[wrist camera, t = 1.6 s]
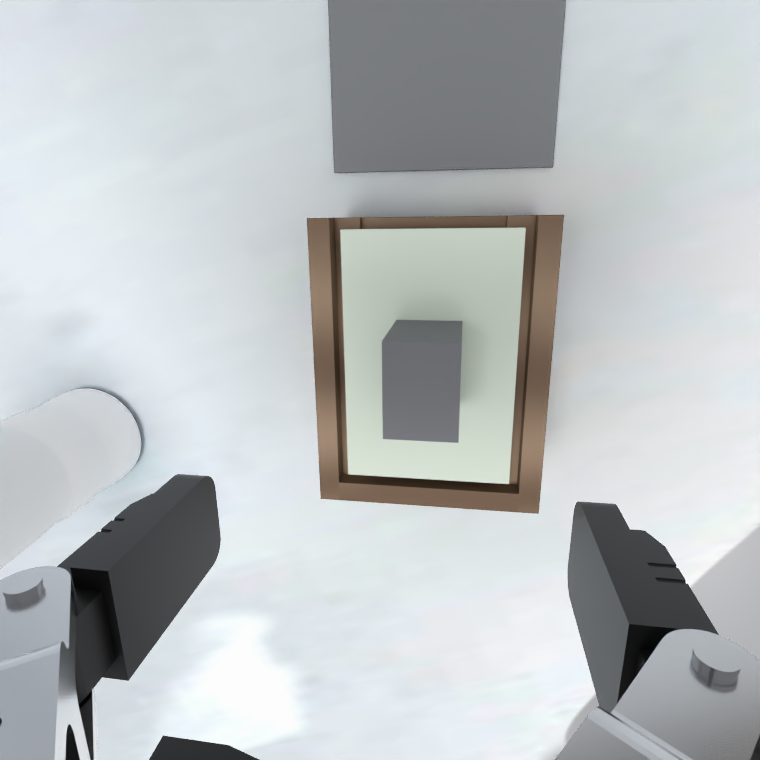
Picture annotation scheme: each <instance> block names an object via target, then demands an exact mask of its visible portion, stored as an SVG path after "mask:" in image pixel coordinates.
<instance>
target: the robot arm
mask: <svg viewBox="0 0 760 760" xmlns="http://www.w3.org/2000/svg"><path fill="white" fill-rule="evenodd" d="M219 548H220V528H219V519H218V509H217V500H216V491H215V485H214V481H213V479H212V478H211V477H209V476H198V475H183V474H177V475H175V476H174V477H173V478H171V479H170V480H169V481H168V482H167V483H166V484H165V485H163V486H162V487H161V488H160V489H159V490H158V491H157V492H155V493H154V494H151V495H149V496H147V497H145V498H143V499H141V500H139V501H137V502H135V503H133V504H131V505H129V506H128V507H127V508H126V509H125V510H123V511H122V512H121V513H120V514H119V515H117V516H116V517H115V519H114V521H110V522H109V523H108V524H107V525H106V526H104V527H103V528H102V530H101V532H97V533H96V534H95V535H94V536H93V537H91V538H90V539H89V540H88V541H87V542H86V543H84V544H83V545H82V546H81V547H80V548H78V549H77V550H76V551H75V552H74V553H73V554H71V555H70V556H69V557H68V558H67V559H65V560H64V561H63V562H62V563H61V564H60V565H58V566H57V567H55V566H43V567H36V568H31V569H27V570H24V571H20V572H18V573H15V574H12V575H10V576H8V577H6V578H4V579H2V580H0V760H98V735H97V703H96V696H95V691H94V687H95V685H96V684H97V683H98V682H99V680H100V679H101V678H102V677H105V678H113V679H120V680H129V679H130V678H131V676H132V675H133V674H134V672H135V671H136V669H137V668H138V667H139V665H140V664H141V663H142V661H143V660H144V659H145V657H146V656H147V654H148V653H149V652H150V650H151V649H152V648H153V646H154V645H155V644H156V642H157V641H158V639H159V638H160V637H161V635H162V634H163V633H164V631H165V630H166V629H167V627H168V626H169V625H170V623H171V622H172V620H173V619H174V618H175V616H176V615H177V614H178V612H179V611H180V610H181V608H182V607H183V605H184V604H185V603H186V601H187V600H188V599H189V597H190V596H191V595H192V593H193V592H194V590H195V589H196V588H197V586H198V585H199V584H200V582H201V581H202V580H203V578H204V577H205V575H206V574H207V573H208V571H209V570H210V569H211V567H212V566H213V564H214V563H215V561H216V559H217V556H218V553H219ZM568 589H569V596H570V600H571V604H572V608H573V611H574V615H575V619H576V622H577V626H578V629H579V633H580V637H581V640H582V644H583V648H584V651H585V655H586V659H587V662H588V666H589V669H590V673H591V677H592V680H593V684H594V688H595V691H596V695H597V698H598V702H599V707H596V708H595V709H593V710H592V711H591V712H590V714H589V715H588V716H587V717H586V719H585V720H584V721H583V723H582V724H581V725H580V727H579V728H578V729H577V731H576V732H575V733H574V735H573V736H572V738H571V739H570V740H569V742H568V743H567V744H566V746H565V747H564V748H563V750H562V751H561V752H560V754H559V755H558V757H557V758H556V759H555V760H760V660H759V659H758V658H757V657H756V656H755V655H753V654H752V653H751V652H749V651H748V650H747V649H745V648H744V647H742V646H741V645H739V644H737V643H735V642H733V641H731V640H730V639H727V638H725V637H722V636H720V635H719V634H718V633H717V631H716V630H715V628H714V626H713V625H712V623H711V621H710V620H709V618H708V616H707V615H706V613H705V611H704V610H703V608H702V607H701V605H700V603H699V602H698V600H697V598H696V597H695V595H694V594H693V592H692V590H691V588H690V587H689V585H688V584H686V583H685V579H684V577H683V575H682V574H681V572H680V570H679V569H678V568H676V564H675V562H674V561H673V559H672V557H671V556H670V554H669V552H668V551H667V549H666V547H665V546H663V545H662V544H661V543H660V542H658V541H657V540H656V539H655V538H653V537H652V536H651V535H649V534H648V533H647V532H646V531H642V530H630V529H629V527H628V525H627V523H626V522H625V520H624V518H623V516H622V514H621V512H620V510H619V508H618V507H617V505H616V504H606V503H591V502H577V503H576V505H575V509H574V516H573V525H572V534H571V544H570V553H569V562H568ZM149 760H259V759H257V758H254V757H252V756H250V755H248V754H246V753H244V752H242V751H239V750H237V749H235V748H233V747H231V746H229V745H223V744H216V743H209V742H202V741H196V740H189V739H182V738H175V737H168V736H163V737H162V739H161V740H160V742H159V744H158V745H157V747H156V749H155V751H154V752H153V754H152V756H151V757H150V759H149Z"/></svg>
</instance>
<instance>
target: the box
mask: <svg viewBox="0 0 760 760" xmlns="http://www.w3.org/2000/svg"><path fill="white" fill-rule="evenodd" d="M563 220H564V215H529V216H454V217H377V218H307V229H308V249H309V269H310V289H311V310H312V330H313V350H314V370H315V390H316V410H317V430H318V451H319V471H320V491H321V499H334V500H348V501H363V502H377V503H392V504H406V505H421V506H435V507H450V508H464V509H479V510H493V511H508V512H522V513H537V514H539V502H540V490H541V478H542V467H543V455H544V443H545V431H546V420H547V408H548V396H549V384H550V373H551V361H552V349H553V337H554V326H555V314H556V302H557V290H558V279H559V267H560V255H561V243H562V231H563ZM522 227H523V228H526V232H525V248H524V263H523V278H522V293H521V309H520V324H519V339H518V355H517V370H516V385H515V400H514V416H513V431H512V446H511V461H510V477H509V484H497V483H481V482H465V481H449V480H432V479H416V478H400V477H383V476H367V475H351V474H348V454H347V423H346V392H345V361H344V330H343V299H342V268H341V237H340V230H342V229H418V228H522Z"/></svg>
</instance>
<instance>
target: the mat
mask: <svg viewBox="0 0 760 760" xmlns="http://www.w3.org/2000/svg"><path fill="white" fill-rule="evenodd" d="M565 4H566V0H328V11H329V40H330V69H331V98H332V127H333V156H334V173H354V172H392V171H431V170H469V169H508V168H546V167H553V159H554V146H555V133H556V121H557V108H558V95H559V82H560V69H561V56H562V43H563V30H564V17H565Z"/></svg>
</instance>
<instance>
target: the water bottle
mask: <svg viewBox="0 0 760 760" xmlns="http://www.w3.org/2000/svg"><path fill="white" fill-rule="evenodd" d="M140 451H141V436H140V431H139V428H138V425H137V423H136V421H135V419H134V417H133V416H132V414H131V413H130V411H129V410H128V409H127V408H126V407H125V406H124V405H123V404H122V403H121V402H120V401H119V400H117V399H116V398H114V397H113V396H111V395H109V394H107V393H105V392H102V391H100V390H95V389H89V388H81V389H75V390H71V391H68V392H66V393H63V394H61V395H59V396H57V397H55V398H53V399H51V400H49V401H47V402H45V403H43V404H42V405H40V406H38V407H37V408H36V409H32V410H28V411H25V412H22V413H19V414H16V415H14V416H12V417H9V418H7V419H5V420H3V421H1V422H0V569H1V568H2V567H3V566H5V565H6V564H7V563H9V562H10V561H11V560H13V559H14V558H15V557H16V556H18V555H19V554H20V553H21V552H23V551H24V550H25V549H27V548H28V547H29V546H30V545H31V544H33V543H34V542H35V541H36V540H37V539H39V538H40V537H41V536H42V535H43V534H44V533H45V532H47V531H48V530H49V529H50V528H51V527H52V526H53V525H54V524H55V523H57V522H59V521H61V520H63V519H65V518H67V517H69V516H70V515H72V514H73V513H75V512H76V511H78V510H79V509H81V508H82V507H83V506H84V505H86V504H87V503H88V502H89V501H90V500H91V499H92V498H93V497H94V496H95V495H96V494H97V493H99V492H101V491H102V490H104V489H106V488H108V487H109V486H111V485H112V484H114V483H115V482H117V481H118V480H120V479H121V478H122V477H124V476H125V475H126V474H127V473H128V472H129V471H130V470H131V469H132V468H133V467H134V465H135V464H136V462H137V460H138V458H139V455H140Z"/></svg>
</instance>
